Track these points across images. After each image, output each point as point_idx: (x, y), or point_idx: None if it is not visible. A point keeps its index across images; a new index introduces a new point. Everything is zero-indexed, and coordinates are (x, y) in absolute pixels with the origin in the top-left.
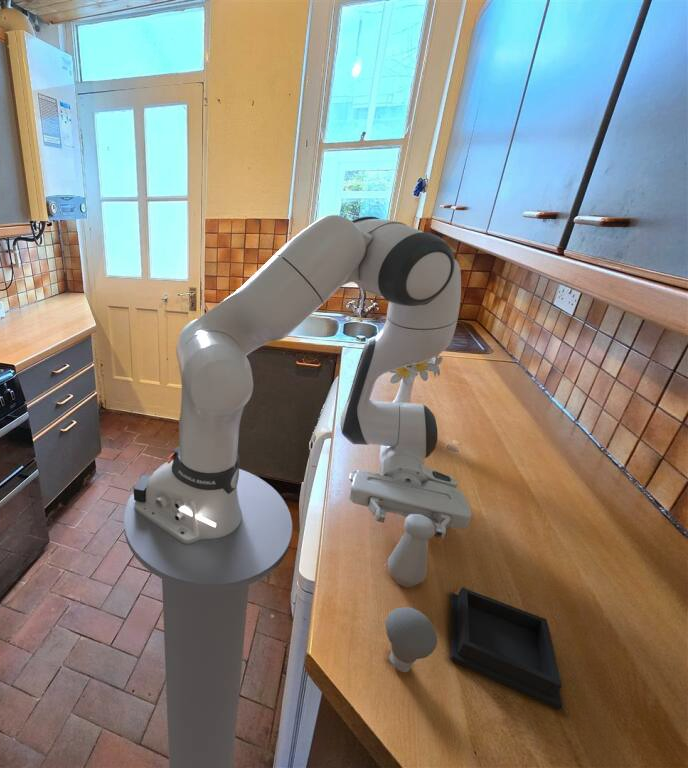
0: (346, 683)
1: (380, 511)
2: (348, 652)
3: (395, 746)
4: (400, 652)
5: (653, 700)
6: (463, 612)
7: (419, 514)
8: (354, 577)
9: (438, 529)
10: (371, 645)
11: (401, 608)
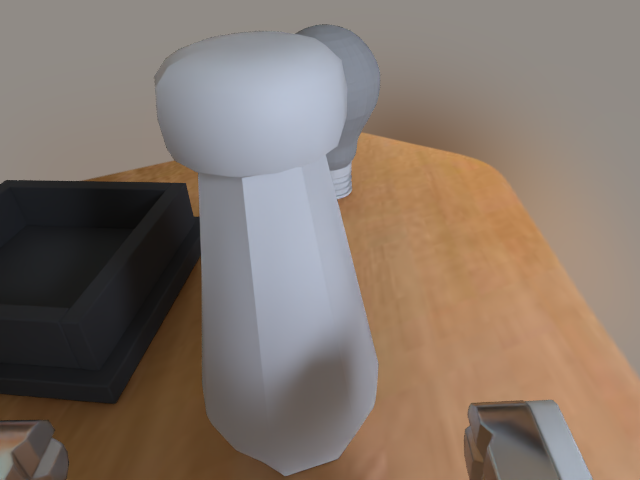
0: (424, 153)
1: (537, 442)
2: (435, 183)
3: None
4: None
5: None
6: (137, 241)
7: (238, 74)
8: (490, 347)
9: (21, 423)
10: (391, 205)
11: (351, 47)
